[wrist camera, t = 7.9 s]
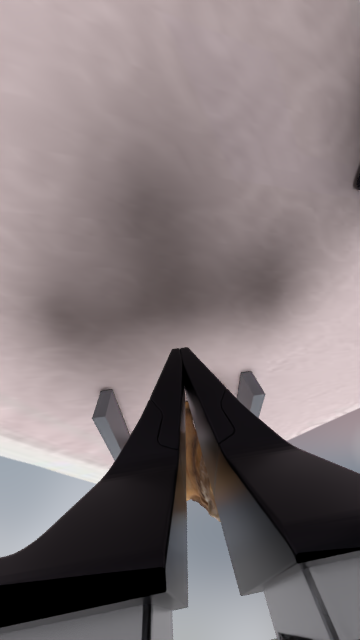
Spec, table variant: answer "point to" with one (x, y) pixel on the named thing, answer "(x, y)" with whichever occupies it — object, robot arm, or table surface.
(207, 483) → the lion figurine
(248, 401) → the chassis bay
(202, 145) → the table surface
